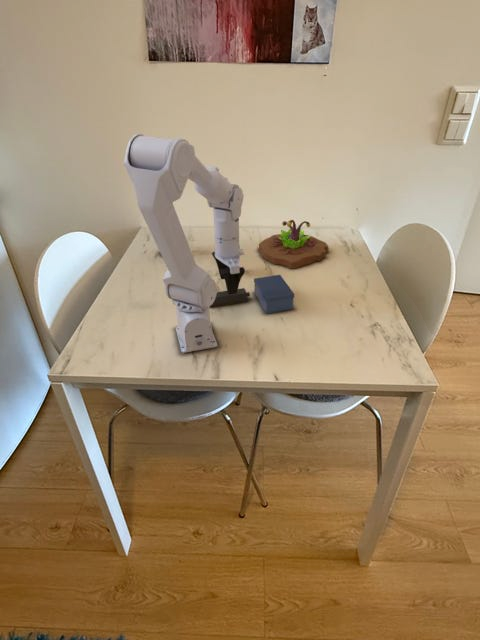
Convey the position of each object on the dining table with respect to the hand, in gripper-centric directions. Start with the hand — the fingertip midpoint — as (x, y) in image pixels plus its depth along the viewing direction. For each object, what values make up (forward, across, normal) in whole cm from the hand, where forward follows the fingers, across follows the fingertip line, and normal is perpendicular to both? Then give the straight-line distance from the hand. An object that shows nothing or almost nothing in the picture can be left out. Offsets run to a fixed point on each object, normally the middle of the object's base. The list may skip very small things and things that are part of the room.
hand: (228, 285), depth 103 cm
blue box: (+5, -3, -11) cm, 12 cm away
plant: (+5, +22, -26) cm, 34 cm away
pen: (+5, 0, 0) cm, 5 cm away
